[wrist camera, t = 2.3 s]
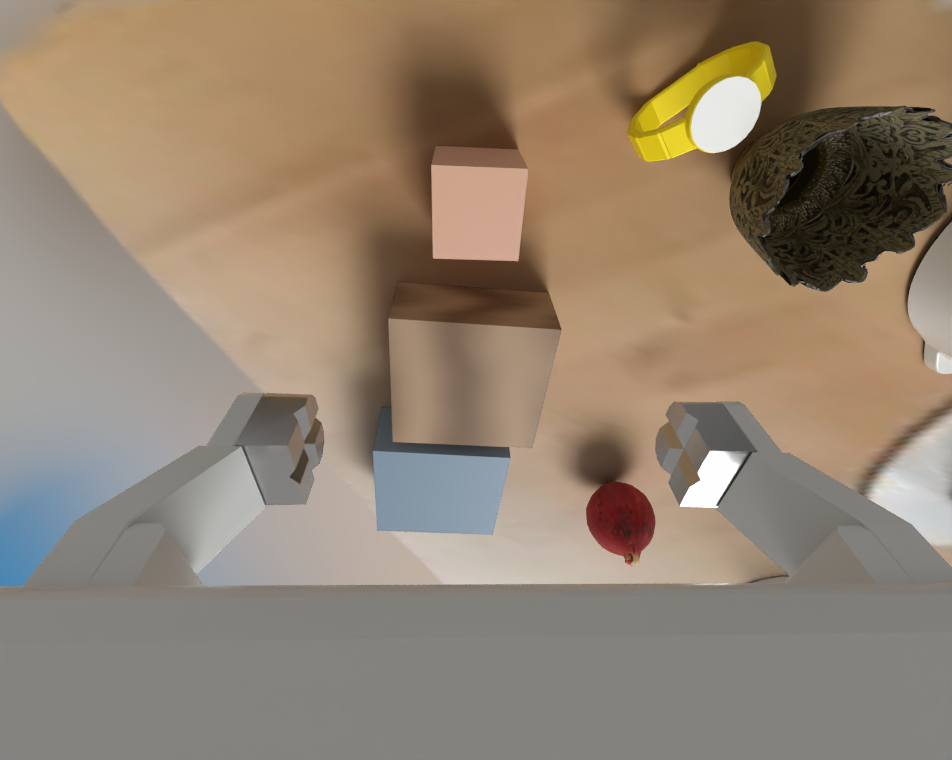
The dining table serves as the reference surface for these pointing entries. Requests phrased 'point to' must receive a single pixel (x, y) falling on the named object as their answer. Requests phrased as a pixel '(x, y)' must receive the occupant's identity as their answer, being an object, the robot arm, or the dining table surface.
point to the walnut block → (469, 364)
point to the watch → (706, 105)
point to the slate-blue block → (436, 484)
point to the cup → (841, 190)
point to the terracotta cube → (477, 203)
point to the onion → (621, 520)
